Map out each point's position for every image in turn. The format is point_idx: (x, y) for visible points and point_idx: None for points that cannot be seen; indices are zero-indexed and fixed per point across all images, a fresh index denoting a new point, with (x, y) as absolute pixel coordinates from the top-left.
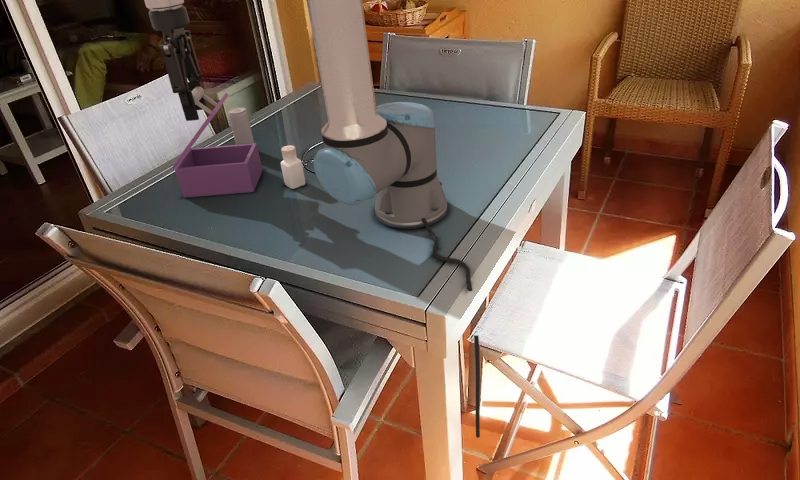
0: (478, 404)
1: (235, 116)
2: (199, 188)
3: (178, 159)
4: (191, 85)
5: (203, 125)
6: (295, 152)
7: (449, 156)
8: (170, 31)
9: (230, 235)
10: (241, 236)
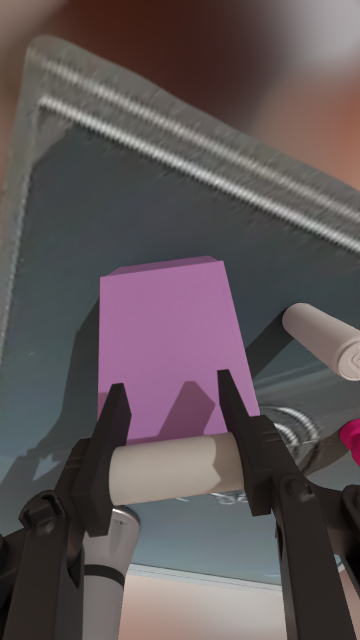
0: None
1: (331, 359)
2: None
3: (100, 300)
4: (246, 470)
5: None
6: None
7: (225, 534)
8: None
9: (20, 383)
10: (21, 396)
